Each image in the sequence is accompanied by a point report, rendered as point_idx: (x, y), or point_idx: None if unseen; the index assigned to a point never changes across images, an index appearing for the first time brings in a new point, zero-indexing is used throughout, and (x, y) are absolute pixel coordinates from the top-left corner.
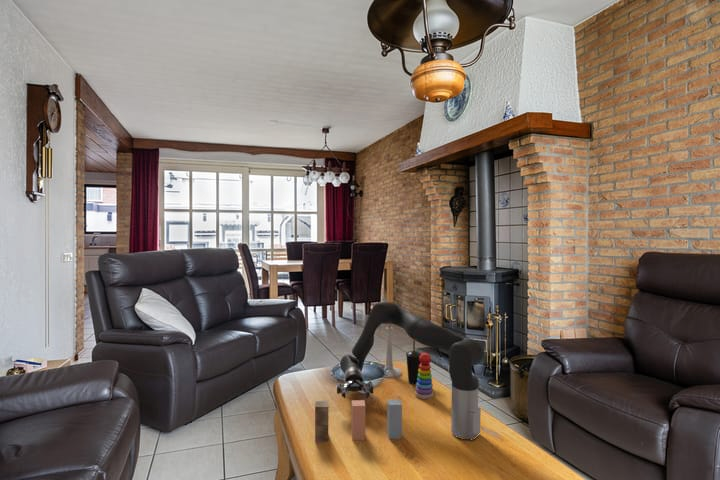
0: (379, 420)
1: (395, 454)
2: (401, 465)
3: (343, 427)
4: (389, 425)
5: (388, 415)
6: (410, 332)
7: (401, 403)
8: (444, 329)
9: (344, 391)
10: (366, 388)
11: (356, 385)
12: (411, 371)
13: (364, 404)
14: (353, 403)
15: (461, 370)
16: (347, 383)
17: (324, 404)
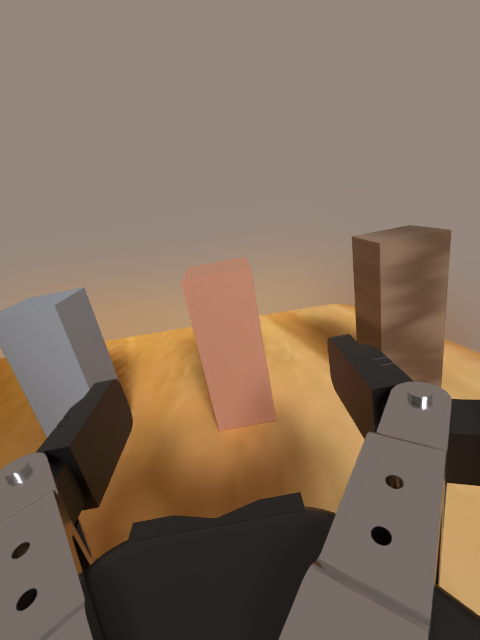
0: None
1: (146, 364)
2: (150, 344)
3: (331, 462)
4: (112, 368)
5: (96, 345)
6: None
7: (20, 302)
8: None
9: (347, 343)
10: (56, 446)
11: (179, 541)
12: None
13: (190, 269)
14: (240, 262)
15: None
16: (412, 508)
17: (380, 235)
